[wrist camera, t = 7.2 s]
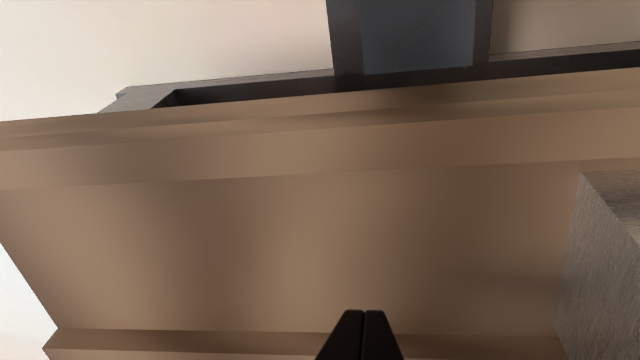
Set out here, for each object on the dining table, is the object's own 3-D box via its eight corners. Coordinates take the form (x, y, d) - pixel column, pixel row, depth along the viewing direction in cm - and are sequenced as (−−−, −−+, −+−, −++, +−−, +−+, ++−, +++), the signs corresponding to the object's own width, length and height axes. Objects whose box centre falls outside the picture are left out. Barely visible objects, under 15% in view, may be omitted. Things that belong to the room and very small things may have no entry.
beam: (90, 319, 16) (56, 367, 14) (-28, 123, 12) (-97, 158, 10) (865, 329, 11) (948, 399, 10) (1106, 27, 7) (1321, 58, 6)
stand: (195, 266, 22) (123, 391, 16) (89, -11, 15) (-101, 33, 9) (684, 268, 17) (828, 439, 12) (847, -119, 11) (1377, -164, 5)
